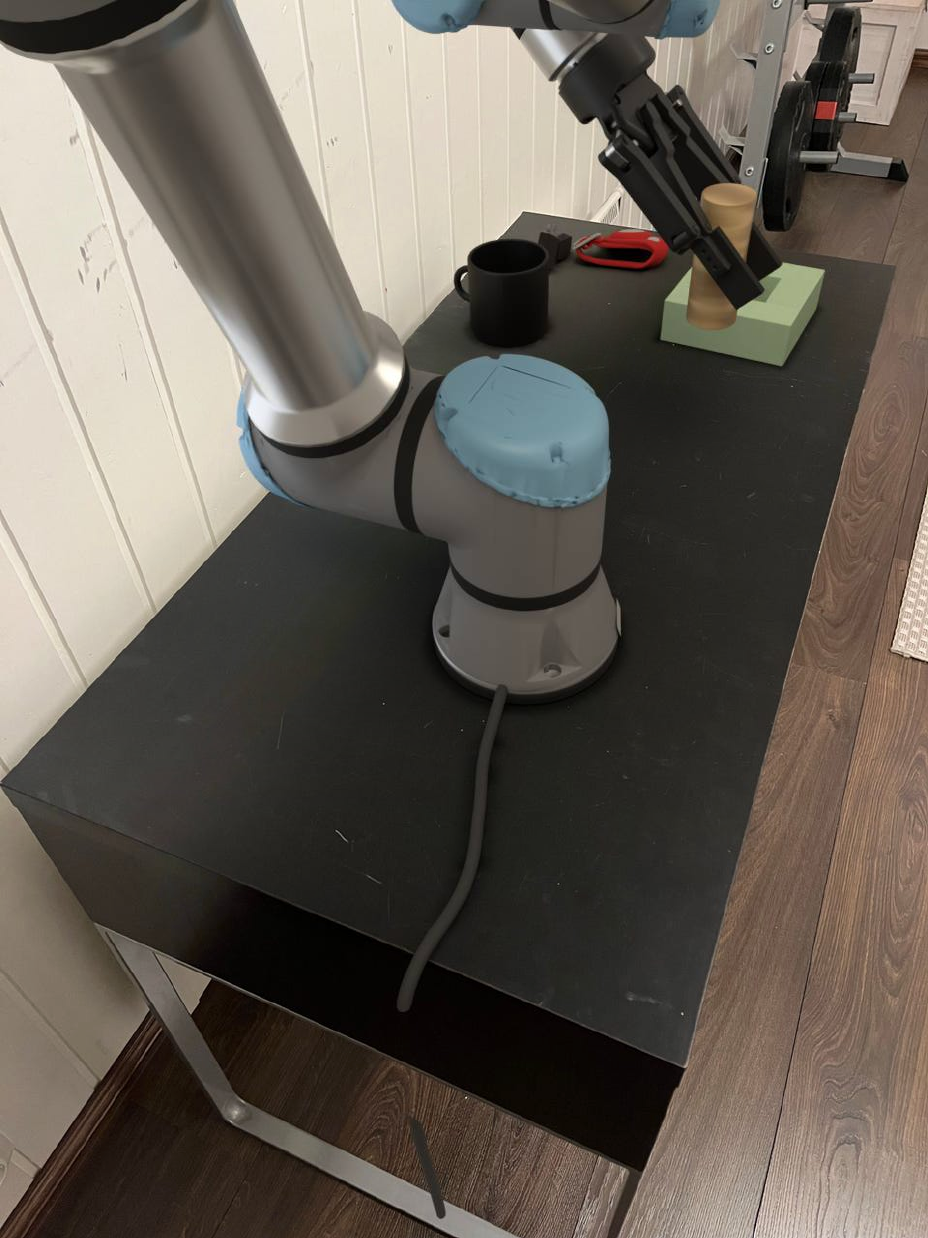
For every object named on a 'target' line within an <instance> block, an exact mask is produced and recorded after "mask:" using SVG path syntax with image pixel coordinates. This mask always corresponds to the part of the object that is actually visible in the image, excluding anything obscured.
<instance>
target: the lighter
mask: <svg viewBox="0 0 928 1238" xmlns="http://www.w3.org/2000/svg"><path fill="white" fill-rule="evenodd" d="M557 226H558V225H556V224H555V223H552V224H551V223H548V224H547V226H546V231H545V230H541V231H540V232H539V236H538V240H537V243H538V244H540V245H542V246H543V247H544V248H546V250H547V251H548V254H549V270H552V271H553V270H554V269H553V268H554V266H555V265H554V264H555V260H560V261H561V260H564V259H565V258H567V257H568V256H569V255H570V254H571V253H572V245H573V244H572V243H573V236H572V235H570V234H567V233H565V232H561V233H560V234H558V235H557V233H556V230H557Z"/></svg>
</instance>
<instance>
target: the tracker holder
mask: <svg viewBox="0 0 928 1238" xmlns="http://www.w3.org/2000/svg"><path fill="white" fill-rule="evenodd" d="M602 236H603V235H602V233H601V232H596V233H594V234H593V235H587V236H583V237H581V238H579V239H578V240H576V241H575V242H574V243H573V244H572V247H571V251H575V253H576V254H577V257H578V258H580V259H581V260H583V261H585V262H587V263H588V262H589V263H591V264H594V265H600V266H607V267H616V268H627V269H636V270H638V269H648V268H654V267H656V266H658V265H660V264H661V263H662V262H663V261H664V260H665V259H666V257H667V255H668V252H669V250H670V248H669V247H668V246H667V244H666V243H665V242H664V240H663V239H662V238H661V236H656V235H653V234H652V233H651V232H649V231H647V230H643V229H636V228H628V229H621V230H616V231H613V232H611V234H609V236H608V235H607V236H603V237H602ZM593 245H594V246H595V247H599V248H604V249H605V248H607V249H639V250H646V251H648V252H650V253H651V256H650V258H649V259H647V260H646V261H645V262H640V261H639V262H637V261H627V260H618V259H609V258H607V259H606V258H597V257H593V256H591V255H587V254H586V253H584V252H583V251H582V250H584V251H585V250H589V249H591V248H592V247H593Z"/></svg>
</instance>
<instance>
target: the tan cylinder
mask: <svg viewBox="0 0 928 1238" xmlns="http://www.w3.org/2000/svg"><path fill="white" fill-rule="evenodd" d="M757 199H758V193H757V192H756V191H755V190H754V189H753V188H752V187H749V186H747V185H745V184H744V185H743V184H741V185H740V184H733V183H723V184H715V185H712V186H709V187H707V188H705V189H704V190H703V191H702V194H701V202H700V201H699V204H700V206H701V208H702V210H703V212H704V213H705V215H706V217H707V219H708V220H709V222H710V224H711V226H712V229H713V230H714V229H716V228H717V227H718V226H720V228H721V229H722V230H723V232H724V233H725V234H726V236H727V237H728V239H729V240H730V241H731V243H732V244H733V246H734V247H735V248H736V250H737V251H738V253H739V254H740V255H741V257H742V258H743V260H744V261H745V262H746V258H747V252H748V246H749V240H750V234H751V228H752V222H754V215H755V210H756V204H757ZM691 267H692V273H691V281H690V289H689V296H688V304H687V312H686V319H687V321H688V322H689V323H690V324H691V325H693V326H695V327H697V328H701V329H705V330H720V329H725V328H728V327H730V326H732V325H733V324H734V323H735V321H736V317H737V311H738V310H735V308H734V307H733V305H732V304H731V303H730V301H729V300H728V299H727V297H726V296H725V295H724V293H723V292H722V290H721V289H720V288H719V286H718V285H717V284H716V282H715V281H714V279H713V278H712V277H711V275H710V274H709V273H708V271H707V270H706V269H705V267H704V266H703V264H702V263H701V262H700V260H699V259H698V258H697V256H696V255H695V253H694V252H693V258H692V266H691Z"/></svg>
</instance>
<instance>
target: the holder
mask: <svg viewBox="0 0 928 1238" xmlns="http://www.w3.org/2000/svg"><path fill="white" fill-rule="evenodd" d="M781 262H782V263H783V264H782V266H781V267H780V268H779V269H777V270H775V271H774V272H772V273H771V274H769V275H768V276H766V277H765V278H763V279H762V280H760V281H759V282H760V283H761V285H762V286H763V287H764V289H765V291H764V292H763V294H761V295H760V296H758V297H757V298H755V299H753V300H752V301H750V302H749V303H747V304H746V305H744V306H743V307H741V308H739V309H738V311H737V317H736V321H735V323H734V324H733V325H732V326H730V327H728V328H725V329H720V330H705V329H701V328H697V327H695V326H693V325H691V324H690V323H689V322H688V321H687V319H686V312H687V304H688V296H689V289H690V281H691V273H692V266H691V267H690V269H689V270H688V271H687V272H686V273H685V275H684V276H683V277H682V278H681V280H680V281H679V282H678V283H677V284H676V286H675V287H674V289H672V291H671V292H670V293H669V295H667V297H666V298H665V299H664V305H663V312H662V322H661V331H660V341H664V342H669V343H673V344H678V345H683V346H687V347H692V348H697V349H701V350H705V351H711V352H715V353H720V354H724V355H728V356H733V357H737V358H742V359H746V360H750V361H756V362H759V363H760V362H761V363H764V364H769V365H773V366H777V367H783V365H784V364H785V362H786V361H787V359H788V357H789V356H790V354H791V352H792V351H793V349H794V347H795V346H796V344H797V342H798V341H799V339H800V337H801V335H802V334H803V332H804V330H805V328H806V327H807V325H808V324H809V322H810V320H811V318H812V317H813V315H814V314H815V312H816V310H817V307H818V303H819V298H820V295H821V289H822V285H823V281H824V278H825V274H826V273H825V272H826V270H825V269H821V268H816V267H810V266H806V265H798V264H793V263H788V262H783V261H781Z"/></svg>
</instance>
